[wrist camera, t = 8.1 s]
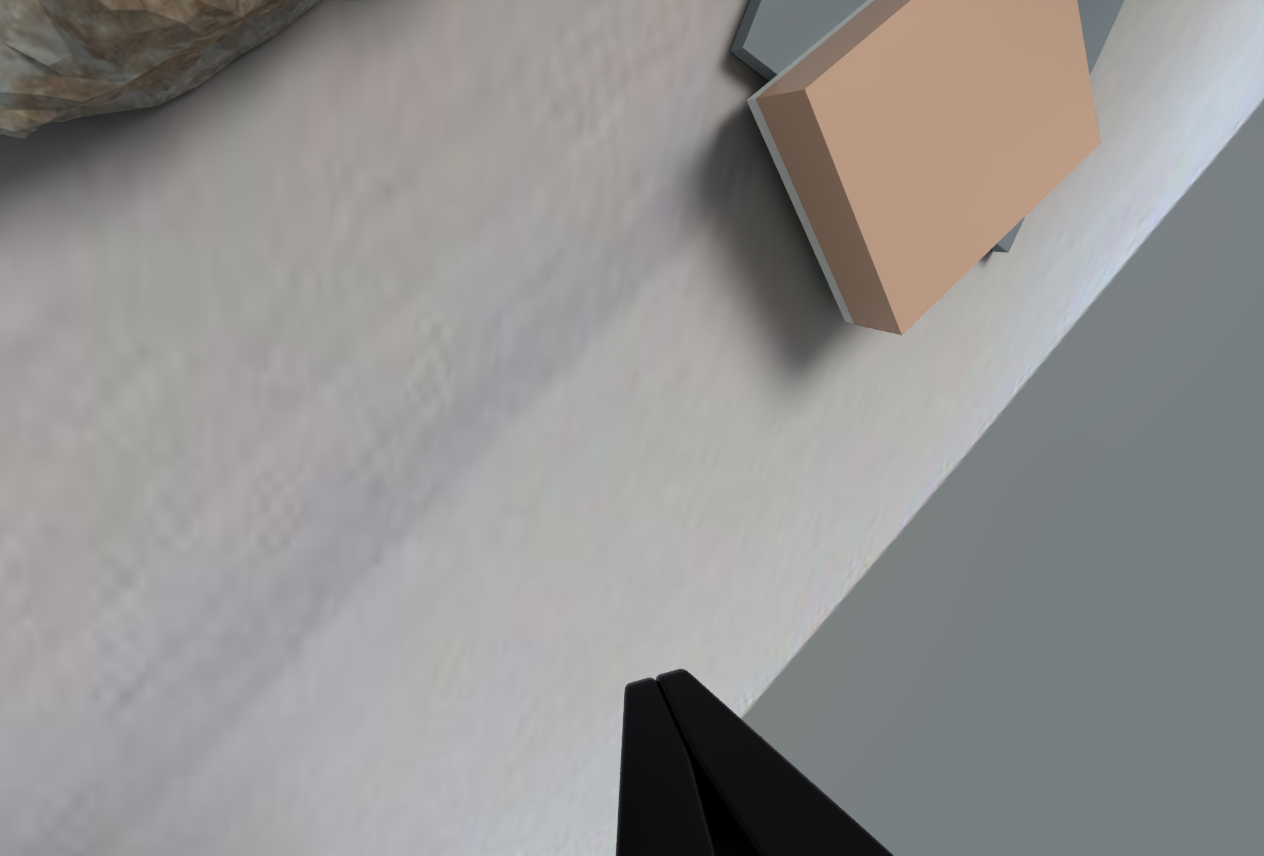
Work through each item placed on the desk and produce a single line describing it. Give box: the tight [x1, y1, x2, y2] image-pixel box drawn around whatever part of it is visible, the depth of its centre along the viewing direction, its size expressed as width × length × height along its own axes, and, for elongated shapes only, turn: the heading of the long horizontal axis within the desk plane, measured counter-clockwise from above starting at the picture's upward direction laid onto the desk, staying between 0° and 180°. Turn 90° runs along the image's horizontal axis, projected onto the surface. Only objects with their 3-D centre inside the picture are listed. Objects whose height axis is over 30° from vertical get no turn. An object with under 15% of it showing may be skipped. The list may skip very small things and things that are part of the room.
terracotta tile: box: [747, 0, 1101, 335], centre depth 21 cm, size 2×8×10 cm
